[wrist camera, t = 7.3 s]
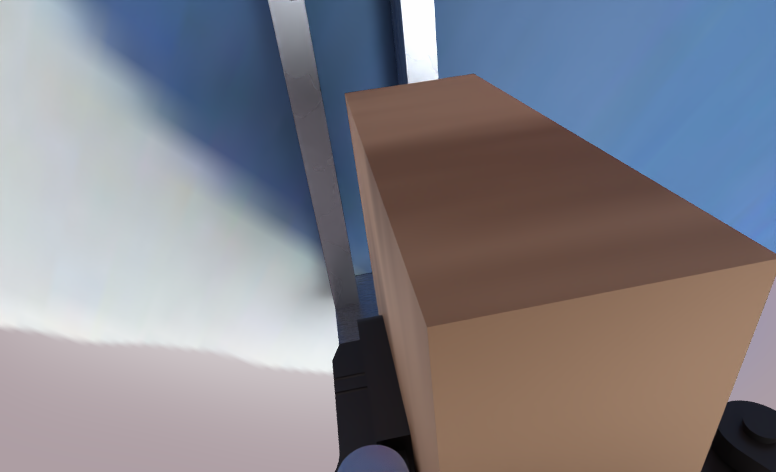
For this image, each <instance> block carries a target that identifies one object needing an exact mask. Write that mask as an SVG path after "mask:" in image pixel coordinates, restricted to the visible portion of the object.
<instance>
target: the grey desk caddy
mask: <svg viewBox="0 0 776 472" xmlns="http://www.w3.org/2000/svg"><path fill="white" fill-rule="evenodd" d="M268 2H269V7H270V12H271V16H272V21H273V25H274V30H275V34H276V39H277V44H278V48H279V53H280V57H281V62H282V66H283V71H284V76H285V80H286V85H287V89H288V94H289V98H290V103H291V108H292V112H293V117H294V121H295V126H296V130H297V135H298V140H299V144H300V149H301V153H302V158H303V162H304V167H305V172H306V176H307V181H308V185H309V190H310V194H311V199H312V203H313V208H314V213H315V217H316V222H317V226H318V231H319V235H320V240H321V245H322V249H323V254H324V258H325V263H326V267H327V272H328V277H329V281H330V286H331V290H332V295H333V299H334V304H335V309H336V319H337V329H338V338H339V344H342V343H347V342H352V341H357V340H360V337H359V331H358V325H357V319H362V318H368V317H373V316H378V315H379V313H378V306H377V300H376V293H375V287H374V280H373V274H372V273H369V274H363V275H358V276H355V274H354V269H353V263H352V258H351V252H350V247H349V241H348V236H347V230H346V225H345V220H344V214H343V209H342V203H341V198H340V192H339V187H338V181H337V176H336V171H335V165H334V160H333V154H332V149H331V143H330V138H329V132H328V127H327V122H326V116H325V111H324V105H323V100H322V94H321V89H320V83H319V78H318V72H317V67H316V62H315V56H314V51H313V45H312V40H311V34H310V29H309V23H308V18H307V13H306V7H305V2H304V0H268ZM390 6H391V16H392V26H393V36H394V46H395V56H396V66H397V76H398V85H403V84H410V83H416V82H423V81H430V80H436V79H438V65H437V47H436V30H435V12H434V0H390Z"/></svg>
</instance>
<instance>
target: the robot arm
mask: <svg viewBox="0 0 776 472" xmlns="http://www.w3.org/2000/svg"><path fill="white" fill-rule="evenodd" d="M357 325H358V331H359V337H360V340H357V341H352V342H347V343H342V344H339V346H338V349H337V351H336V353H335V356H334V358H333V361H332V362H333V374H334V387H335V399H336V411H337V424H338V436H339V450H340V456H339V462H338V465H337V468H336V470H335V472H416V471H415V464H414V456H413V449H412V441H411V434H410V430H409V425H408V421H407V417H406V413H405V408H404V404H403V400H402V396H401V391H400V387H399V383H398V379H397V374H396V370H395V366H394V362H393V357H392V353H391V349H390V345H389V340H388V336H387V332H386V328H385V323H384V319H383V316H382V315H378V316H373V317H368V318H362V319H357ZM701 472H776V411H775V410H773V409H771V408H769V407H767V406H764V405H761V404H758V403H755V402H749V401H730V402H727V404H726V407H725V410H724V412H723V415H722V418H721V420H720V423H719V425H718V428H717V431H716V433H715V436H714V438H713V441H712V444H711V446H710V449H709V451H708V454H707V457H706V459H705V462H704V465H703V467H702V470H701Z"/></svg>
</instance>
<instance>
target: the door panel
mask: <svg viewBox="0 0 776 472" xmlns="http://www.w3.org/2000/svg"><path fill="white" fill-rule="evenodd" d="M345 100H346V106H347V112H348V119H349V125H350V132H351V138H352V145H353V151H354V158H355V164H356V171H357V177H358V183H359V190H360V196H361V203H362V209H363V216H364V222H365V229H366V235H367V242H368V248H369V254H370V261H371V267H372V274H373V280H374V287H375V293H376V300H377V306H378V313H379V315H382V316H383V319H384V323H385V328H386V332H387V336H388V340H389V345H390V349H391V353H392V357H393V362H394V366H395V370H396V374H397V379H398V383H399V387H400V391H401V396H402V400H403V404H404V408H405V413H406V417H407V421H408V425H409V430H410V434H411V441H412V449H413V456H414V464H415V471H416V472H701V470H702V467H703V465H704V462H705V459H706V457H707V454H708V451H709V449H710V446H711V444H712V441H713V438H714V436H715V433H716V431H717V428H718V425H719V423H720V420H721V418H722V415H723V412H724V410H725V407H726V404H727V402H728V399H729V397H730V394H731V391H732V389H733V386H734V384H735V381H736V378H737V376H738V373H739V371H740V368H741V365H742V363H743V360H744V358H745V355H746V352H747V350H748V347H749V344H750V342H751V339H752V337H753V334H754V331H755V329H756V326H757V324H758V321H759V318H760V316H761V313H762V310H763V308H764V305H765V303H766V300H767V297H768V295H769V292H770V289H771V287H772V284H773V282H774V279H775V277H776V254H775V253H774V252H772V251H770V250H769V249H767V248H765V247H764V246H762V245H760V244H759V243H757V242H755V241H754V240H752V239H750V238H749V237H747V236H745V235H744V234H742V233H740V232H738V231H737V230H735V229H733V228H732V227H730V226H728V225H727V224H725V223H723V222H722V221H720V220H718V219H717V218H715V217H713V216H712V215H710V214H708V213H707V212H705V211H703V210H702V209H700V208H698V207H697V206H695V205H693V204H691V203H690V202H688V201H686V200H685V199H683V198H681V197H680V196H678V195H676V194H675V193H673V192H671V191H670V190H668V189H666V188H665V187H663V186H661V185H660V184H658V183H656V182H655V181H653V180H651V179H650V178H648V177H646V176H645V175H643V174H641V173H639V172H638V171H636V170H634V169H633V168H631V167H629V166H628V165H626V164H624V163H623V162H621V161H619V160H618V159H616V158H614V157H613V156H611V155H609V154H608V153H606V152H604V151H603V150H601V149H599V148H598V147H596V146H594V145H592V144H591V143H589V142H587V141H586V140H584V139H582V138H581V137H579V136H577V135H576V134H574V133H572V132H571V131H569V130H567V129H566V128H564V127H562V126H561V125H559V124H557V123H556V122H554V121H552V120H551V119H549V118H547V117H545V116H544V115H542V114H540V113H539V112H537V111H535V110H534V109H532V108H530V107H529V106H527V105H525V104H524V103H522V102H520V101H519V100H517V99H515V98H514V97H512V96H510V95H509V94H507V93H505V92H504V91H502V90H500V89H499V88H497V87H495V86H493V85H492V84H490V83H488V82H487V81H485V80H483V79H482V78H480V77H478V76H477V75H475V74H469V75H463V76H456V77H449V78H443V79H436V80H430V81H423V82H416V83H410V84H403V85H396V86H390V87H383V88H377V89H370V90H363V91H357V92H350V93H345Z"/></svg>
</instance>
